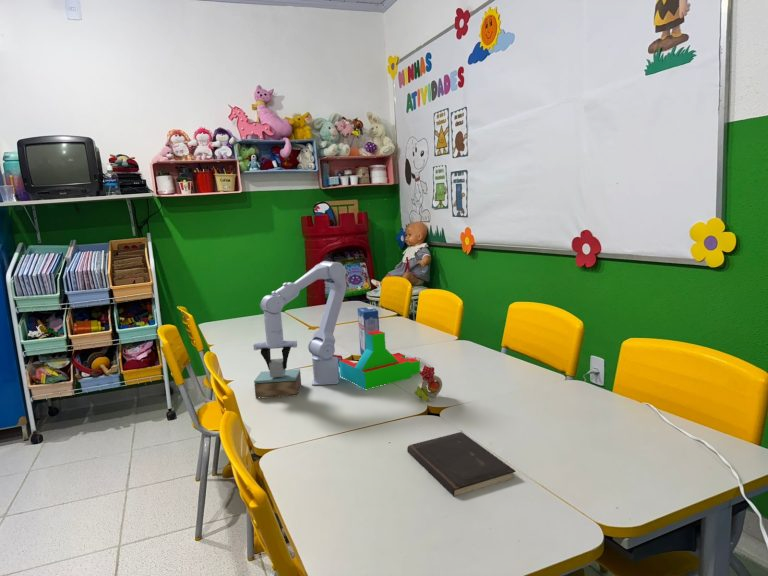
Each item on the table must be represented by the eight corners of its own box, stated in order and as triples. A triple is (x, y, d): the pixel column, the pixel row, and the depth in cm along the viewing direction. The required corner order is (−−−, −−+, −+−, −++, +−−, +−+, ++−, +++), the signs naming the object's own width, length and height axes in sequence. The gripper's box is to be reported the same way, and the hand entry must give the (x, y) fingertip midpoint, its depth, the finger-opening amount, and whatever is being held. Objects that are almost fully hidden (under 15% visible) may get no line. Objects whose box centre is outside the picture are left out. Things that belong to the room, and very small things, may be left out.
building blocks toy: (424, 374, 189) (421, 326, 186) (365, 390, 175) (362, 339, 173) (395, 363, 204) (393, 318, 202) (340, 377, 191) (336, 329, 188)
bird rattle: (429, 400, 169) (407, 395, 164) (439, 367, 169) (418, 362, 165) (440, 406, 163) (418, 401, 159) (451, 372, 164) (428, 366, 159)
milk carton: (360, 353, 219) (357, 308, 216) (374, 351, 221) (371, 306, 218) (366, 360, 210) (363, 312, 207) (381, 357, 212) (378, 310, 209)
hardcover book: (461, 439, 136) (461, 431, 135) (515, 480, 115) (515, 470, 114) (407, 454, 130) (406, 445, 129) (453, 499, 109) (453, 489, 108)
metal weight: (285, 372, 178) (284, 358, 177) (283, 376, 173) (282, 362, 173) (272, 373, 178) (271, 359, 177) (270, 377, 173) (268, 363, 172)
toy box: (301, 384, 185) (300, 371, 184) (296, 395, 174) (295, 381, 173) (262, 387, 184) (261, 373, 184) (255, 398, 174) (254, 384, 173)
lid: (300, 371, 184) (300, 369, 184) (295, 380, 173) (295, 378, 173) (261, 373, 184) (261, 371, 184) (254, 383, 173) (254, 381, 173)
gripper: (249, 334, 169) (254, 373, 172) (293, 331, 170) (297, 370, 172) (254, 329, 176) (258, 367, 179) (296, 326, 177) (299, 364, 179)
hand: (277, 368), depth 176 cm, fingers closed on metal weight, 4 cm apart
